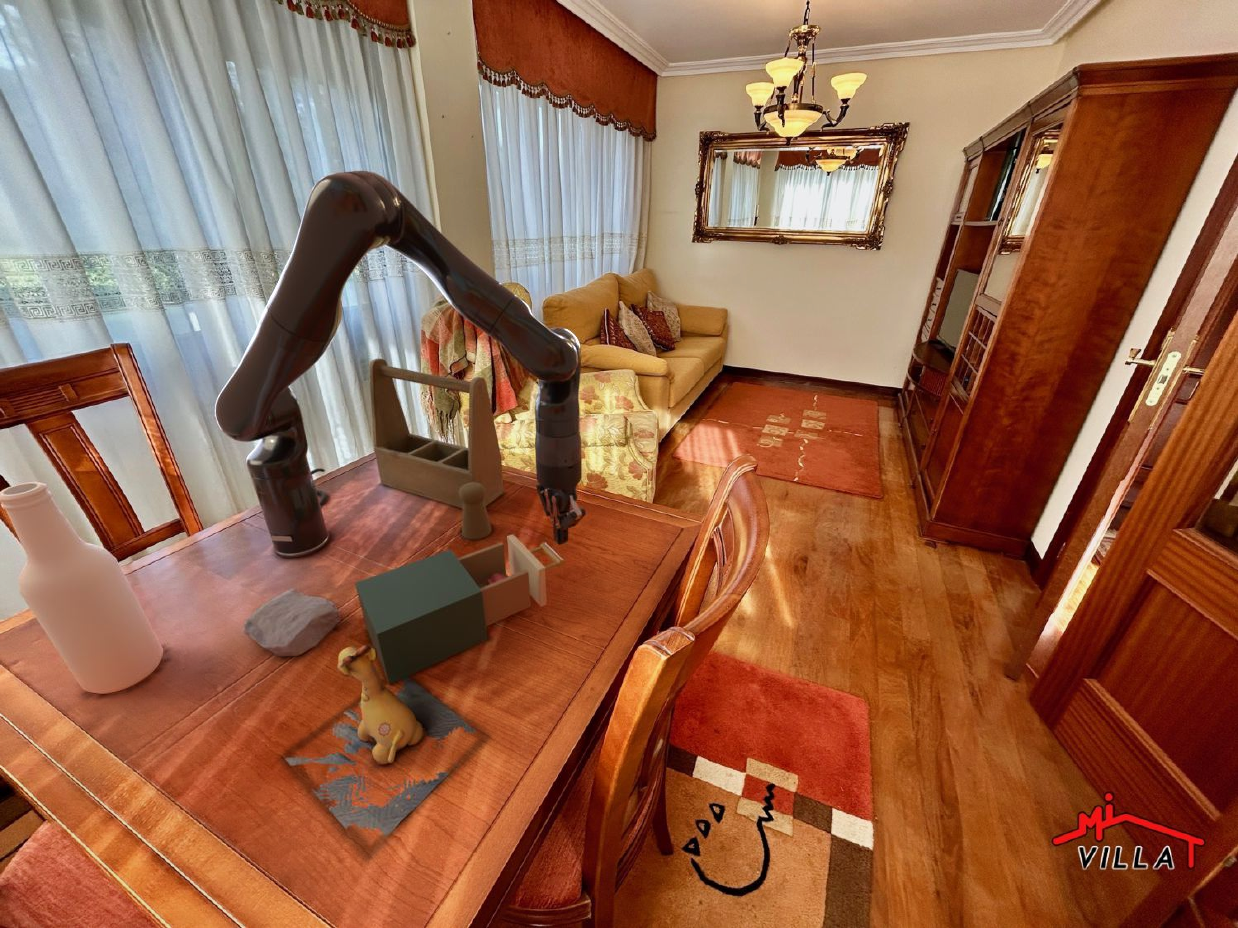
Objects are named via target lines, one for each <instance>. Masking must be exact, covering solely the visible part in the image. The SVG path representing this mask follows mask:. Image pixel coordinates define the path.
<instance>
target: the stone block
mask: <svg viewBox="0 0 1238 928" xmlns="http://www.w3.org/2000/svg"><path fill="white" fill-rule="evenodd" d="M340 622H341V616H340V611H339V609H338V607H337V606H336V605H335V603H334V602H332V601H330V600H329V599H327V598H324V597H320V596H316V595H315V596H310V595H306V594H304V593H301V592H300V591H298V590H297V589H295V588H290V589H288V590H286V591H285V592H283V593H280V594H279V595H276V596H275V597H273V598H272V599H270V600H268V601H267V602H265V603H264V604H262V605H261V606H259V607H258V608H257V609H256V610H254V611H253V612H252V613H251V614H250V615H249V616H248V617H247V618H246V619H245V623H243V626H242V628H243V633H244V634H245V635H247V636H248V637H249V638H251V639H252V641H254V642H256V643H257V644H258V645H259V646H261V648H263V649H265V650H268V651H270V652H271V653H273V654H274V655H275V656H277V657H297V656H300V655H302V654H304V653H305V652H307V651H309V650H311V649H312V648H314V647H316V646H317V645H318V644H319V643H320V642H321V641H322V640H323V639H324V638H325V637H326V636H327V635H328V634H329V633H330V632H331V631H332V630H333V629H334V628H335V627H336V626H337V625H338V624H339V623H340Z"/></svg>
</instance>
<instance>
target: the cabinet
mask: <svg viewBox="0 0 1238 928" xmlns="http://www.w3.org/2000/svg"><path fill="white" fill-rule="evenodd" d="M457 558H458V557H457V556H456V555H455V553H454V552H453V551H452V549H447V550H444V551H442V552H439V553H436V554H432V555H430V556H427V557H425V558H422V559H419V560H416V561H413V562H410V563H407V564H404V565H402V566H399V567H395V568H393V569H390V570H387V571H385V572H382V573H378V574H376V575H373V576H370V577H367V578H364V579H361V580H358V581H356V582H354V586H355V589H356V593H357V597H358V600H359V601H358V602H359V605H360V608H361V613H362V616H363V620H364V623H365V627H366V632H367V633H368V636H369V638H370V641H371V644H372V647H374V648H376V650H377V651H376V652H377V658H378V660H379V661H378V662H379V663H380V666H381V668H382V670H383V673H384V675H385V678H386V681H387V683H388V685H389V686H391V685H393V684H395V683H397V682H400V681H403V679H404V678H406V677H410V676H413V675H415V674H417V673H418V672H422V671H423V670H425V669H427V668H430V667H432V666H434V665H436V664H438V663H440V662H443V661H444V660H446V659H447V660H448V658H449V659H450V658H451V657H453V656H455V655H457V654H459V653H461V652H464V651H465V650H467V649H470V648H472V647H474V646H476V645H478V644H481V643H483V642H484V641H487V640H488V632H487V631H488V630H487V626H486V622H485V613H484V605H483V596H482V591H481V589H480V588H479V587H478V585H477V584H476V583H475V581H474V580H473V579H472V577H471V576H470V575H469V573H468V572H467V571H466V569H465V568H464V567H463V565H462V564H461V563H460V561H459V560H458V559H457Z"/></svg>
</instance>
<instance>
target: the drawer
mask: <svg viewBox="0 0 1238 928" xmlns="http://www.w3.org/2000/svg"><path fill="white" fill-rule="evenodd" d="M506 540H507V541H506V542H507V550H508V564H509V572H510V573H511V575H509V576H508V574H507V568H506V567H507V566H506V556H505V545H504V543H503V542H502V541H501V542H498V543H496V544H493V545H490V546H487V547H484V548H482V549H479V550H477V551H473V552H470V553H468V554H466V555H463V556H460V557H457V559H458V560H459V561H460V563H461V564H462V565H463V567H464V568H465V569H466V571H467V572H468V573H469V575H470V576H471V577H472V579H473V580H474V581H475V583H476V584H477V585H478V587H479V588H480V589H481V591H482V596H483V605H484V613H485V622H486V627H488V626H491V625H492V624H495V623H497V622H500V621H501V620H504V619H506V618H508V617H510V616H512V615H514V614H517V613H519V612H521V611H524V610H526V609H527V608H530V607H532V604H531V599H533V600H534V601H535V603H537V605H538V606H539V607H540V608H542V607H544V606H546V605H547V603H548V599H547V583H546V581H547V580H546V572H547V571H550V570H551V569H554V568H556V567H558V568H563V567H564V566H565V564H566V560H564V558H562V557H561V556H560V555H559V554H558V553H557V552H556V551H555V550H554V549H553V548H552V547H551V546H550V545H549V544H548V543H547V542H542V543H540V545H539V546H537V547H535V548H533V549H528V548H527V547H526V546H525V545H524V544H523V543H522V542H521V541H520V539H518V537H516V536H515V534H514V533H513V534H510V535H507V536H506ZM539 552H543V553H544V554H545V555H546V556H547V557H548V558H549V559H550V560H551V561H552V562H551V563H549V564H547V565H543V564H542V563H541V561H540V560H539V559H538V558H537V557H536V556H535V555H534V554H537V553H539ZM495 573H498V574H500V575H501V574H503V575H504V576H505V577H506V578H504V579H502V580H499V581H497V582H494V583H492V584H490V585H487V580H488V579H491V578H492V575H493V574H495ZM531 597H532V598H531Z"/></svg>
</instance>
